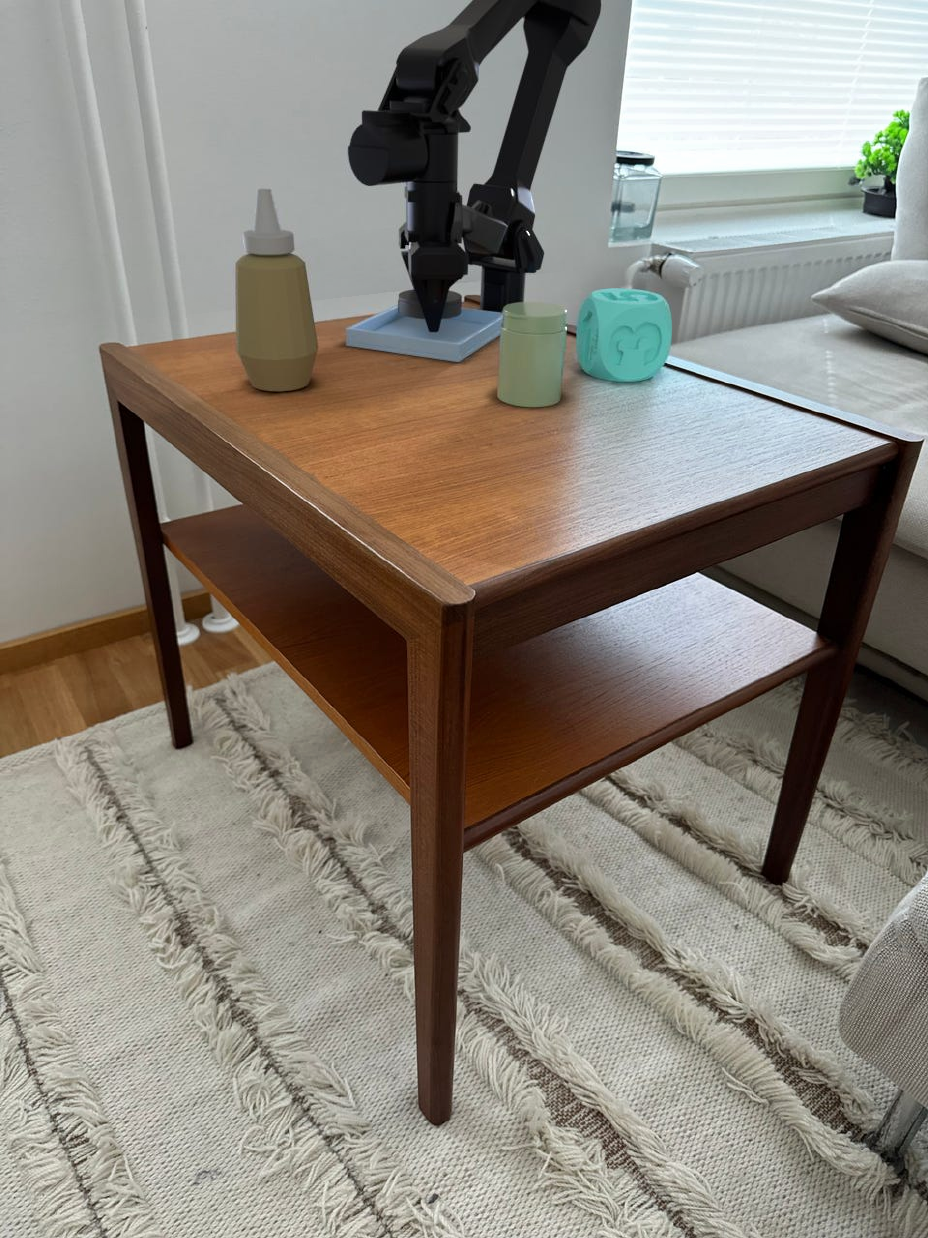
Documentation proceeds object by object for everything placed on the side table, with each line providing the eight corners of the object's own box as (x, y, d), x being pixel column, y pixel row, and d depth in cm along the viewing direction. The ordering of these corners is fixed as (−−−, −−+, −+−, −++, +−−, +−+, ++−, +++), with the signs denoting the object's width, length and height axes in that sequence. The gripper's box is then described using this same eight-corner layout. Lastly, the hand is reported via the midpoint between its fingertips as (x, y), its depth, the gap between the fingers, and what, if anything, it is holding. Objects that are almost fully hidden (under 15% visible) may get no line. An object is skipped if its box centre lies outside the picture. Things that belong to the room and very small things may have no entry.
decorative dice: (572, 361, 101) (580, 287, 97) (640, 360, 102) (649, 287, 98) (594, 383, 94) (603, 305, 90) (665, 381, 96) (677, 304, 91)
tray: (406, 316, 117) (406, 300, 116) (508, 329, 112) (509, 313, 111) (346, 345, 104) (345, 328, 103) (458, 362, 99) (459, 344, 98)
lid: (400, 319, 103) (400, 302, 102) (396, 304, 109) (395, 288, 108) (465, 319, 104) (465, 302, 103) (457, 304, 110) (457, 288, 109)
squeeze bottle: (304, 400, 87) (290, 197, 77) (226, 392, 88) (203, 192, 79) (331, 376, 94) (321, 186, 84) (258, 369, 95) (240, 182, 85)
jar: (509, 383, 93) (514, 298, 89) (568, 392, 91) (576, 306, 87) (487, 401, 88) (491, 311, 84) (549, 411, 86) (557, 320, 82)
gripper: (518, 191, 92) (510, 344, 100) (490, 171, 108) (484, 305, 116) (411, 189, 91) (411, 344, 99) (397, 170, 106) (399, 305, 115)
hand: (430, 323), depth 107 cm, fingers closed on lid, 7 cm apart
